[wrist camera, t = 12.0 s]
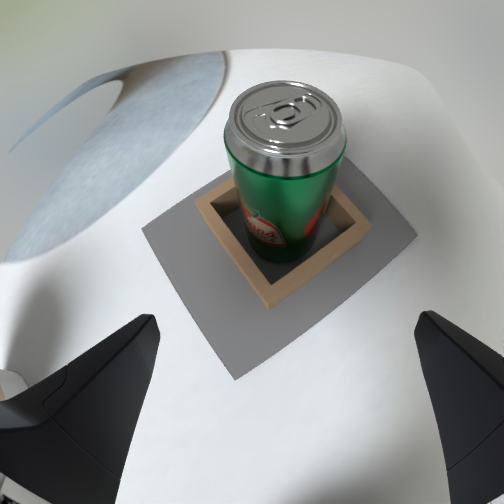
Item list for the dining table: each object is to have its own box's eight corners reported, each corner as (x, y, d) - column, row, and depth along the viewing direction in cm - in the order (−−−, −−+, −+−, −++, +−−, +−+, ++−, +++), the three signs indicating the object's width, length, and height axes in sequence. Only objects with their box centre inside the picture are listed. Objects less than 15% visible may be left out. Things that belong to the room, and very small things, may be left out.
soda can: (235, 224, 21) (197, 104, 10) (289, 192, 22) (296, 64, 11) (271, 278, 20) (267, 187, 8) (328, 241, 20) (378, 129, 9)
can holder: (235, 379, 18) (228, 386, 15) (143, 230, 22) (125, 212, 19) (415, 236, 20) (434, 219, 17) (310, 127, 25) (313, 102, 21)
